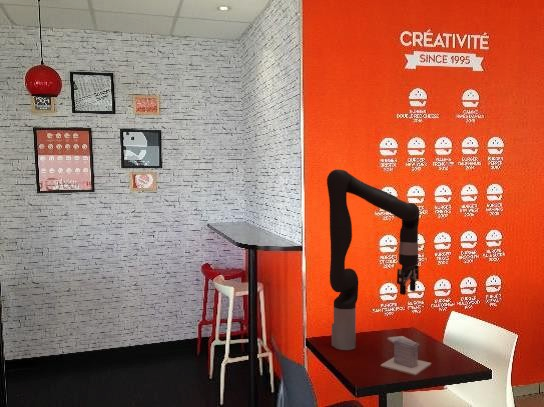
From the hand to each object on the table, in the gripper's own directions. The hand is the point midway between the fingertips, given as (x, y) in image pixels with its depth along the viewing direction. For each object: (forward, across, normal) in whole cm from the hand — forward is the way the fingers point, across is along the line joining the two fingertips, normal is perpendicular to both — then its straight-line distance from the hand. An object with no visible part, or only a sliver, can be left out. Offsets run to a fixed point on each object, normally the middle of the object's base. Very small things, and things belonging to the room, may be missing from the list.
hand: (407, 292), depth 201 cm
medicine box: (+25, -12, -5) cm, 28 cm away
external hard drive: (+26, +12, +7) cm, 30 cm away
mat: (+25, -11, -6) cm, 28 cm away
